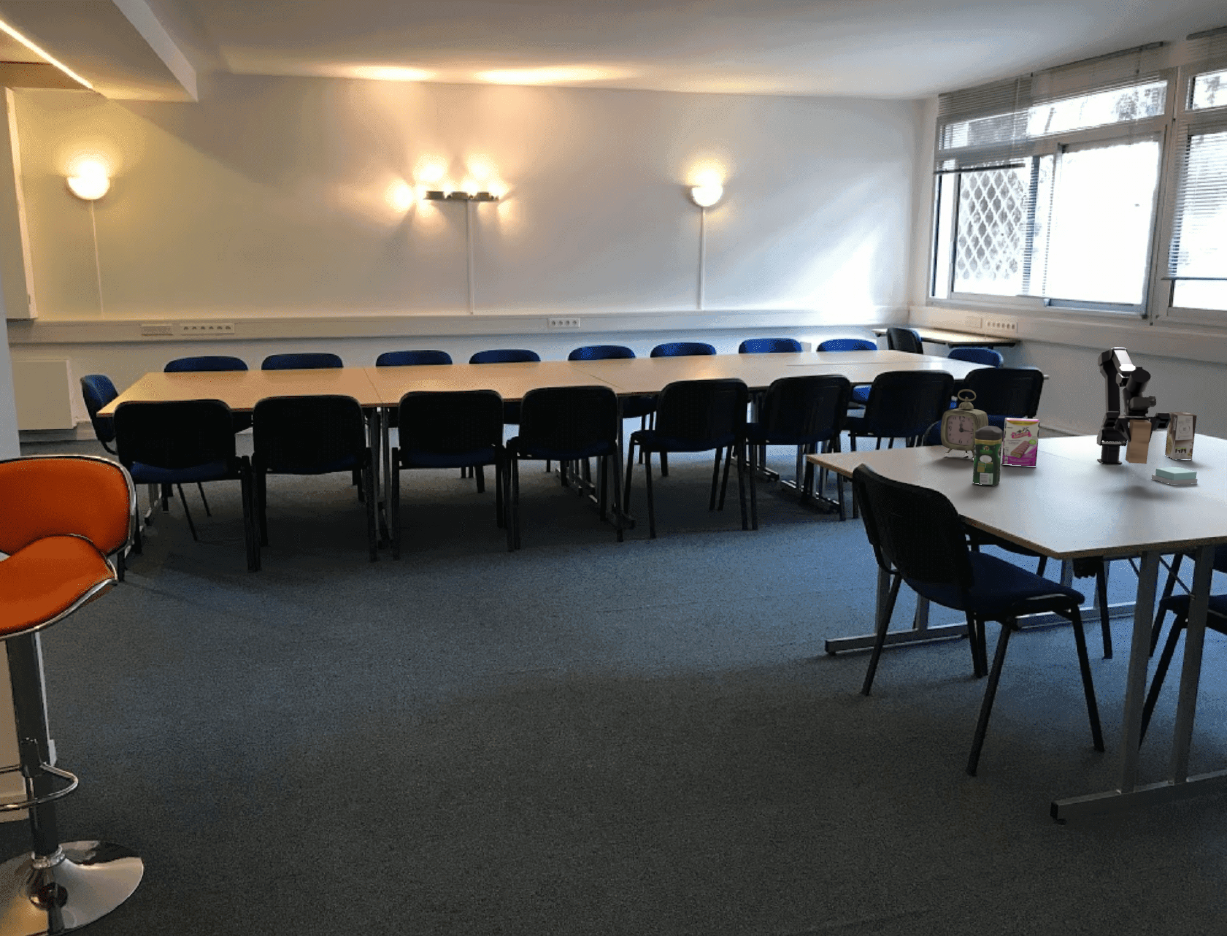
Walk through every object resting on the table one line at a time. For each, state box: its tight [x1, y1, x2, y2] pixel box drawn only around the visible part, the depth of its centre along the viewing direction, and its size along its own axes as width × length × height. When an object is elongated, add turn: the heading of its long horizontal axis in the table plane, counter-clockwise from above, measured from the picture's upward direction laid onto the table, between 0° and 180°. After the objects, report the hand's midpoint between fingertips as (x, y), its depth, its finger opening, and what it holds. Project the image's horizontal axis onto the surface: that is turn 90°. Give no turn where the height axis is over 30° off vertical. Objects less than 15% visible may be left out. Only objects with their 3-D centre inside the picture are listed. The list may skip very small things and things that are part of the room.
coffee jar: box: [972, 425, 1004, 486], centre depth 311 cm, size 10×8×19 cm
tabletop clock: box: [940, 388, 989, 459], centre depth 352 cm, size 14×9×25 cm, turn 42°
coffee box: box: [1164, 411, 1198, 461], centre depth 346 cm, size 9×6×16 cm
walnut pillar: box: [1125, 420, 1151, 465], centre depth 308 cm, size 5×5×13 cm
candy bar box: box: [1001, 417, 1041, 467], centre depth 337 cm, size 11×5×16 cm, turn 71°
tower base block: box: [1151, 473, 1198, 485], centre depth 311 cm, size 9×9×2 cm
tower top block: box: [1155, 466, 1198, 480], centre depth 310 cm, size 8×8×2 cm
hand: (1139, 441), depth 307 cm, fingers closed on walnut pillar, 5 cm apart
